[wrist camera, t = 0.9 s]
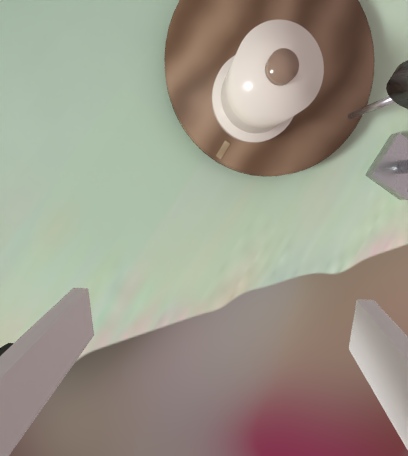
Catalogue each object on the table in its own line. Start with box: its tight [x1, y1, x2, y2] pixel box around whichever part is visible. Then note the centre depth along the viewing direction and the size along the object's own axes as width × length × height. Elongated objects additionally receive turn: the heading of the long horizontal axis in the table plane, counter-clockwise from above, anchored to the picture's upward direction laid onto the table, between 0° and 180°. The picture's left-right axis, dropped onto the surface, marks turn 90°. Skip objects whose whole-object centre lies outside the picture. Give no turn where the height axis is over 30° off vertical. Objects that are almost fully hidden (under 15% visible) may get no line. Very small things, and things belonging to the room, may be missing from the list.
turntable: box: [165, 0, 374, 176], centre depth 38 cm, size 28×28×2 cm
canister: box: [211, 20, 324, 143], centre depth 32 cm, size 11×11×11 cm
